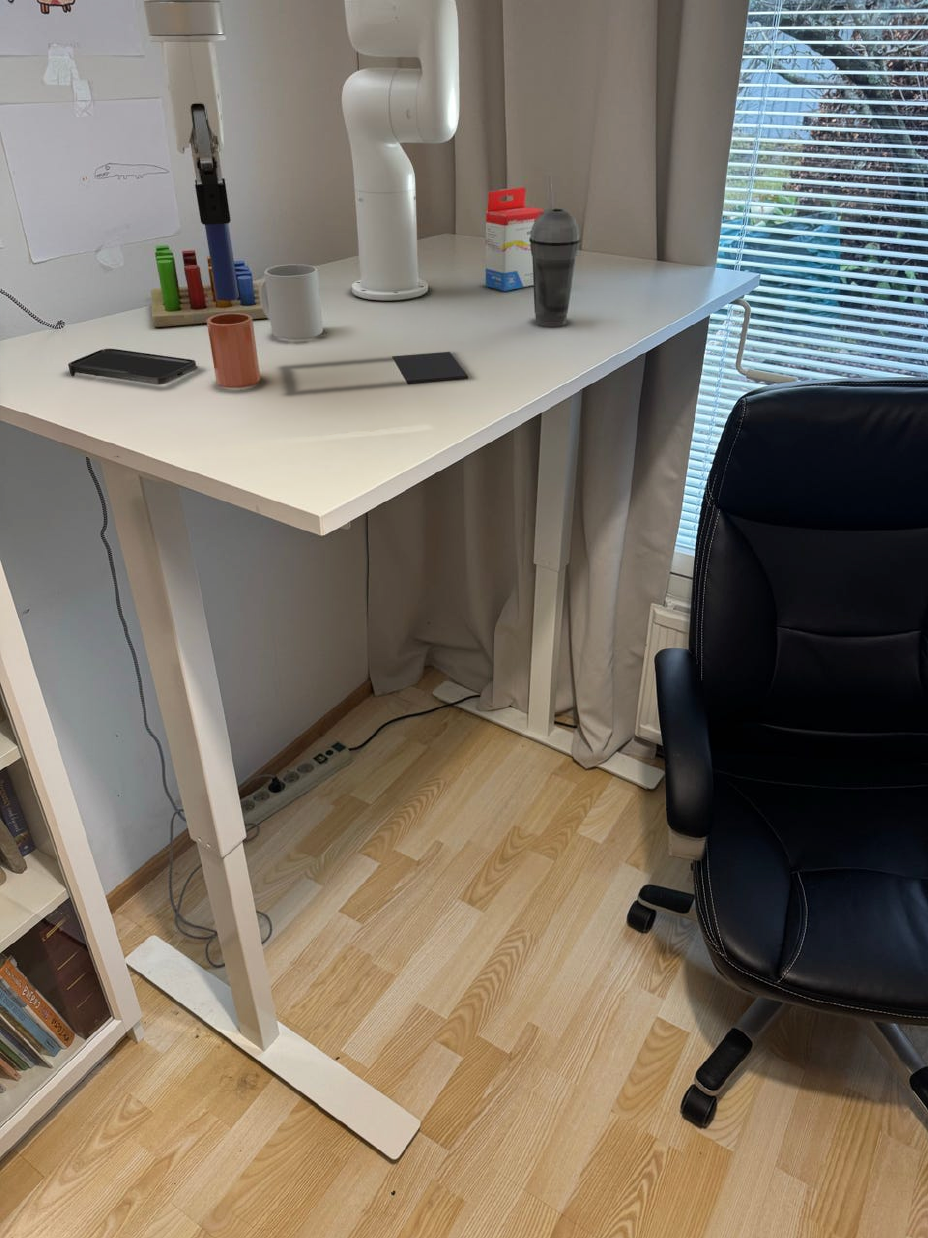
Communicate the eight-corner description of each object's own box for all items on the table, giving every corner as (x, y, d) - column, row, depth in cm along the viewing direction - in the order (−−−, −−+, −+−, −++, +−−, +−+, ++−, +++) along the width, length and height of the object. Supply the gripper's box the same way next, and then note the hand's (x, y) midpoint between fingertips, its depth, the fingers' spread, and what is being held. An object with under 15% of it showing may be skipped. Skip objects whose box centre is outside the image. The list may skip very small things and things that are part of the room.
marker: (216, 295, 106) (195, 168, 98) (238, 294, 106) (220, 167, 99) (216, 301, 104) (195, 171, 96) (239, 299, 104) (220, 170, 96)
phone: (105, 347, 119) (199, 360, 114) (107, 355, 120) (200, 368, 115) (63, 365, 113) (160, 379, 108) (65, 374, 114) (161, 388, 109)
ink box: (503, 292, 147) (505, 194, 139) (484, 286, 151) (485, 191, 142) (541, 284, 152) (545, 189, 144) (522, 278, 155) (524, 185, 147)
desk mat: (284, 367, 116) (284, 364, 115) (449, 354, 120) (449, 351, 120) (291, 393, 108) (291, 390, 107) (467, 378, 112) (467, 375, 112)
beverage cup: (572, 330, 129) (582, 177, 118) (522, 328, 130) (527, 176, 119) (577, 317, 135) (587, 170, 124) (529, 314, 136) (535, 169, 125)
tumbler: (217, 379, 112) (206, 314, 108) (259, 375, 113) (251, 311, 109) (217, 393, 108) (206, 326, 103) (262, 389, 109) (253, 323, 104)
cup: (299, 346, 123) (292, 278, 118) (247, 334, 128) (238, 269, 123) (333, 333, 128) (328, 268, 123) (282, 322, 133) (275, 259, 128)
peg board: (273, 318, 135) (266, 258, 130) (154, 328, 131) (142, 267, 126) (260, 290, 149) (253, 235, 144) (152, 299, 145) (141, 242, 140)
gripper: (150, 23, 96) (182, 209, 106) (143, 25, 83) (180, 237, 93) (222, 22, 97) (246, 206, 107) (226, 24, 84) (253, 233, 94)
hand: (215, 218), depth 100 cm, fingers closed on marker, 2 cm apart
